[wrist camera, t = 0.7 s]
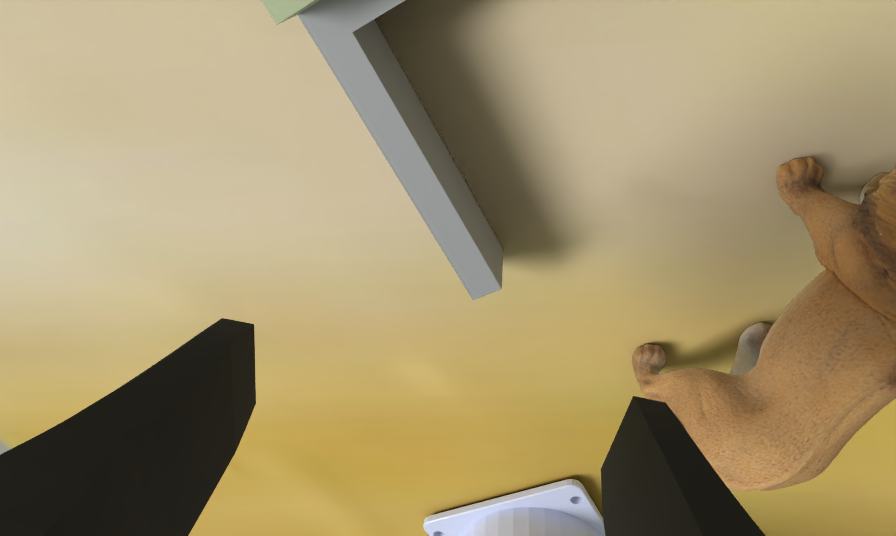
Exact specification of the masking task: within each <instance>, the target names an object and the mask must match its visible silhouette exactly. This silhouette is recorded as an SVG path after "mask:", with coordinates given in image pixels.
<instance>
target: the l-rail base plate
mask: <svg viewBox="0 0 896 536" xmlns="http://www.w3.org/2000/svg"><path fill="white" fill-rule="evenodd" d="M261 1H262V2H263V4H264V5H265V7H266V9H267V10H268V12H269V13H270V15H271V17H272V18H273V20H274V21H275V23H276V24H279V23H281V22H283V21H285V20H287V19H290V18H292V17H294V16H296V15H298V16H299V18H300V19H301V21H302V23H303V24H304V26H305V28H306V29H307V31H308V32H309V34H310V36H311V37H312V39H313V41H314V42H315V44H316V45H317V47H318V49H319V50H320V52H321V54H322V55H323V57H324V58H325V60H326V62H327V63H328V65H329V67H330V68H331V70H332V71H333V73H334V75H335V76H336V78H337V80H338V81H339V83H340V84H341V86H342V88H343V89H344V91H345V93H346V94H347V96H348V97H349V99H350V101H351V102H352V104H353V106H354V107H355V109H356V111H357V112H358V114H359V115H360V117H361V119H362V120H363V122H364V124H365V125H366V127H367V128H368V130H369V132H370V133H371V135H372V137H373V138H374V140H375V141H376V143H377V145H378V146H379V148H380V150H381V151H382V153H383V154H384V156H385V158H386V159H387V161H388V163H389V164H390V166H391V167H392V169H393V171H394V172H395V174H396V176H397V177H398V179H399V180H400V182H401V184H402V185H403V187H404V189H405V190H406V192H407V194H408V195H409V197H410V198H411V200H412V202H413V203H414V205H415V207H416V208H417V210H418V211H419V213H420V215H421V216H422V218H423V220H424V221H425V223H426V224H427V226H428V228H429V229H430V231H431V233H432V234H433V236H434V237H435V239H436V241H437V242H438V244H439V246H440V247H441V249H442V250H443V252H444V254H445V255H446V257H447V259H448V260H449V262H450V263H451V265H452V267H453V268H454V270H455V272H456V273H457V275H458V276H459V278H460V280H461V281H462V283H463V285H464V286H465V288H466V290H467V291H468V293H469V294H470V296H471V298H472V299H473V300H475V299H477V298H480V297H482V296H485V295H488V294H490V293H493V292H495V291H498V290H500V289H502V266H503V248H502V247H501V245H500V243H499V241H498V239H497V238H496V236H495V234H494V232H493V230H492V229H491V227H490V225H489V223H488V221H487V220H486V218H485V216H484V214H483V213H482V211H481V209H480V207H479V205H478V204H477V202H476V200H475V198H474V196H473V195H472V193H471V191H470V189H469V188H468V186H467V184H466V182H465V180H464V179H463V177H462V175H461V173H460V171H459V170H458V168H457V166H456V164H455V163H454V161H453V159H452V157H451V155H450V154H449V152H448V150H447V148H446V146H445V145H444V143H443V141H442V139H441V137H440V136H439V134H438V132H437V130H436V129H435V127H434V125H433V123H432V121H431V120H430V118H429V116H428V114H427V112H426V111H425V109H424V107H423V105H422V104H421V102H420V100H419V98H418V96H417V95H416V93H415V91H414V89H413V87H412V86H411V84H410V82H409V80H408V78H407V77H406V75H405V73H404V71H403V70H402V68H401V66H400V64H399V62H398V61H397V59H396V57H395V55H394V53H393V52H392V50H391V48H390V46H389V45H388V43H387V41H386V39H385V37H384V36H383V34H382V32H381V30H380V28H379V27H378V25H377V23H376V21H375V18H377V17H379V16H380V15H382V14H384V13H385V12H387V11H389V10H390V9H392V8H393V7H395V6H397V5H398V4H400V3H402V2H403V1H405V0H261Z"/></svg>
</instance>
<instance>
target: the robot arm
mask: <svg viewBox="0 0 896 536" xmlns="http://www.w3.org/2000/svg"><path fill="white" fill-rule="evenodd" d="M255 404H256V391H255V346H254V324H250V323H245V322H239V321H234V320H229V319H223V318H222V319H220V320H219V321H217V322H216V323H214V324H213V325H211V326H210V327H208V328H207V329H205V330H204V331H202V332H201V333H200V334H198V335H197V336H195V337H194V338H192V339H191V340H189V341H188V342H187V343H185V344H184V345H182V346H181V347H179V348H178V349H177V350H175V351H174V352H172V353H171V354H169V355H168V356H166V357H165V358H163V359H162V360H161V361H159V362H158V363H156V364H155V365H153V366H152V367H150V368H149V369H147V370H146V371H144V372H143V373H141V374H139V375H138V376H136V377H135V378H133V379H132V380H130V381H129V382H127V383H126V384H124V385H123V386H121V387H120V388H118V389H117V390H115V391H113V392H112V393H110V394H109V395H107V396H105V397H104V398H102V399H100V400H99V401H97V402H95V403H94V404H92V405H90V406H89V407H87V408H85V409H84V410H82V411H80V412H79V413H77V414H75V415H74V416H72V417H70V418H69V419H67V420H65V421H64V422H62V423H60V424H58V425H56V426H55V427H53V428H51V429H49V430H47V431H45V432H44V433H42V434H40V435H38V436H36V437H34V438H32V439H30V440H28V441H26V442H24V443H22V444H20V445H18V446H17V447H15V448H13V449H11V450H9V451H7V452H5V453H3V454H1V455H0V536H188V535H189V533H190V532H191V530H192V528H193V526H194V524H195V523H196V521H197V519H198V517H199V516H200V514H201V512H202V511H203V509H204V507H205V505H206V504H207V502H208V500H209V498H210V497H211V495H212V493H213V491H214V490H215V488H216V486H217V484H218V482H219V481H220V479H221V477H222V475H223V474H224V472H225V470H226V468H227V466H228V465H229V463H230V461H231V459H232V457H233V456H234V454H235V452H236V450H237V447H238V445H239V443H240V440H241V438H242V436H243V433H244V431H245V429H246V426H247V424H248V421H249V419H250V416H251V414H252V411H253V409H254V406H255ZM601 482H602V507H603V517H602V515H601V514H600V512H599V511H598V509H597V507H596V506H595V504H594V502H593V501H592V499H591V498H590V496H589V494H588V493H587V491H586V490H585V488H584V486H583V485H582V483H581V482H580V481H578V480H575V479H567V480H563V481H559V482H555V483H552V484H548V485H544V486H540V487H536V488H533V489H529V490H525V491H521V492H517V493H514V494H510V495H506V496H502V497H499V498H495V499H491V500H487V501H483V502H480V503H476V504H472V505H468V506H464V507H461V508H457V509H453V510H449V511H445V512H442V513H438V514H434V515H430V516H428V517H426V518H425V520H424V529H425V531H426V532H427V533H428V534H429V536H765V535H764V533H763V532H762V531H761V530H760V529H759V527H758V526H757V525H756V524H755V522H754V521H753V520H752V518H751V517H750V516H749V515H748V513H747V512H746V511H745V510H744V508H743V507H742V506H741V505H740V503H739V502H738V501H737V499H736V498H735V497H734V495H733V494H732V493H731V491H730V490H729V489H728V487H727V486H726V485H725V483H724V482H723V481H722V479H721V478H720V477H719V475H718V474H717V473H716V471H715V470H714V469H713V467H712V466H711V464H710V463H709V462H708V460H707V459H706V458H705V456H704V455H703V453H702V452H701V451H700V449H699V448H698V446H697V445H696V444H695V442H694V441H693V439H692V438H691V437H690V435H689V434H688V432H687V431H686V430H685V428H684V427H683V425H682V424H681V423H680V421H679V420H678V418H677V417H676V416H675V414H674V413H673V411H672V410H671V409H670V407H669V406H668V405H667V403H666V402H661V401H656V400H651V399H646V398H640V397H635V396H633V398H632V400H631V402H630V405H629V407H628V409H627V412H626V414H625V416H624V418H623V421H622V423H621V425H620V427H619V430H618V432H617V434H616V436H615V439H614V441H613V443H612V445H611V448H610V450H609V452H608V454H607V457H606V459H605V461H604V464H603V466H602V468H601Z"/></svg>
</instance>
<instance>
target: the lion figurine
mask: <svg viewBox="0 0 896 536" xmlns="http://www.w3.org/2000/svg"><path fill="white" fill-rule="evenodd" d="M822 176H823V169H822V168H821V167H820V165H818V164H816V163H815V161H814V160H813V159H812V158H810V157H805V158H796V159H793V160H791V161H790V162H788V163H786V164H783V165H781V166H779V167H778V171H777V184H778V189H779V193H780V196H781V197H782V199H783V201H784V202H785V203H786V204H787V205H788V206H789V207H790V209H791V210H792V211H793V212H794V213H795V214H796V215H798V216H800V217H801V219H802V220H803V222H804V223H805V225H806V227H807V228H808V231H809V233H810V235H811V238H812V240H813V243H814V247H815V252H816V256H817V258H818V260H819V262H820V263H821V265H823V266H824V267H825V268H827V269H826V270H825V271H823V272H822V273H821V274H819V275H818V276H817V277H816V278H815V279H814V280H812V281H811V282H810V283H809V284H808V285H807V286H806V287H805V288H804V289H803V290H802V291H801V292H800V293H798V294H797V295H796V296H795V298H794V299H793V300H792V301H791V302H790V303H789V304H788V306H787V307H786V308H785V309H784V311H783V312H782V313H781V314H780V316H779V317H778V319H777V320H776V321H775V323H774V324H773V326H771V325H769V324H767V323H763V322H760V323H757V324H754V325H752V326H750V327H749V328H747V329H746V330H745V331H744V332H743V333H742V335H741V336H740V339H739V343H738V349H737V353H736V356H735V360H734V363H733V366H732V369H731V372H730V374H726V373H722V372H718V371H714V370H708V369H702V368H693V367H686V368H682V369H677V370H673V371H669V372H664V373H661V374H658V373H659V371H660V370H661V369H662V368H663V367H664V365H665V363H666V355H665V353H664V351H663V349H662V348H661V347H660V346H659V345H651V344H646V345H642V346H640V347H638V348H637V349H636V350H635V352H634V354H633V357H632V365H633V369H634V372H635V376H636V378H637V380H638V383H639V385H640V388H641V391H642V393H643V395H644V397H645V398H646V399H651V400H656V401H661V402H666V403H667V405H668V406H669V407H670V409H671V410H672V411H673V413H674V414H675V416H676V417H677V418H678V420H679V421H680V423H681V424H682V425H683V427H684V428H685V430H686V431H687V432H688V434H689V435H690V437H691V438H692V439H693V441H694V442H695V444H696V445H697V446H698V448H699V449H700V451H701V452H702V453H703V455H704V456H705V458H706V459H707V460H708V462H709V463H710V464H711V466H712V467H713V469H714V470H715V471H716V473H717V474H718V475H719V477H720V478H721V479H722V481H723V482H724V483H725V485H726V486H727V487H728V489H732V490H737V491H757V490H761V491H769V490H775V489H780V488H784V487H788V486H792V485H795V484H799V483H802V482H805V481H808V480H811V479H813V478H815V477H816V476H818V475H819V474H820V473H822V472H823V471H824V470H825V469H826V468H827V467H828V466H829V464H830V463H831V462H832V460H833V459H834V458H835V457H836V456H837V455H838V453H839V452H840V451H841V449H842V448H843V447H844V446H845V444H846V443H847V442H848V441H849V440H850V439H851V438H852V436H853V435H854V434H855V433H856V432H857V431H858V430H859V429H860V428H861V427H862V426H863V425H864V424H866V423H867V422H868V421H869V420H870V419H871V418H872V417H873V416H874V415H875V414H876V413H878V412H879V411H880V410H881V409H882V408H883V407H885V406H886V405H887V404H889V403H890V402H891V401H892V400H894V399H895V398H896V168H895V169H894V170H892V171H891V172H890V173H889V174H888V173H881V174H878V175H876V176H874V177H873V178H872V179H871V180H870V181H869V182H868V183H867V184H866V185H865V186H864V188H863V189H862V192H861V194H860V205H856V204H852V203H849V202H846V201H844V200H841V199H839V198H837V197H835V196H832V195H830V194H827V193H825V191H824V190H823V189H822V188H821V187H820V183H821V180H822Z"/></svg>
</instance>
